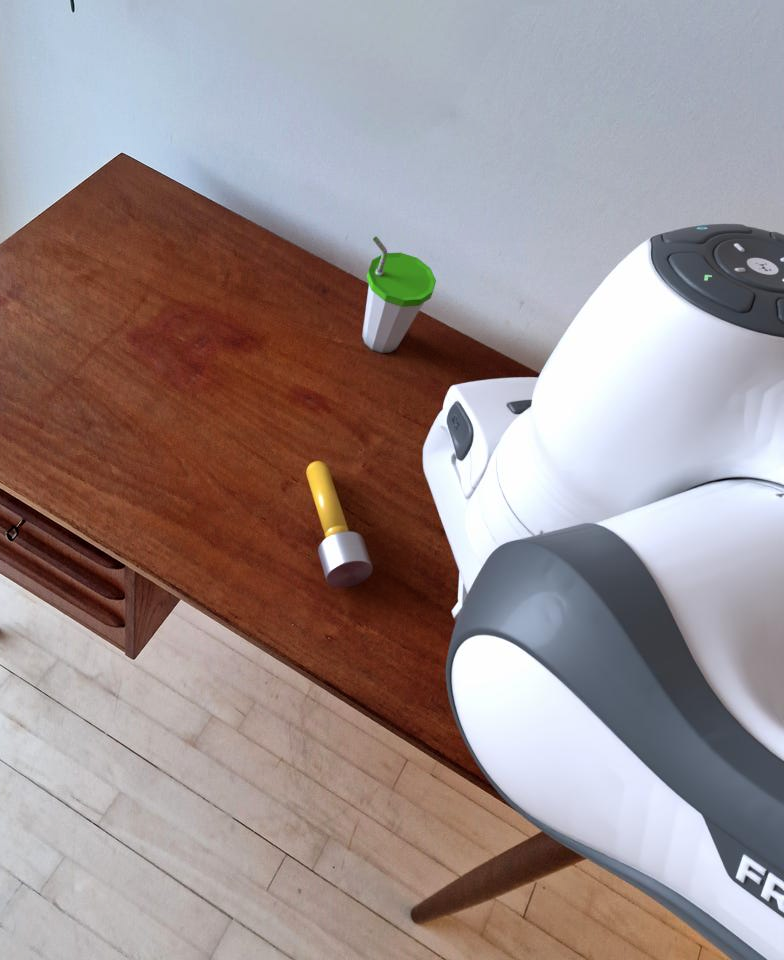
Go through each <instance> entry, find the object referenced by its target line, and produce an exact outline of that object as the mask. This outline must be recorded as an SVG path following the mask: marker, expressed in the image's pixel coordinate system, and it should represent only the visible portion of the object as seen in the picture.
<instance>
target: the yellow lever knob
mask: <svg viewBox="0 0 784 960" xmlns="http://www.w3.org/2000/svg"><path fill="white" fill-rule="evenodd" d="M305 474H306V478H307V481H308V484H309V488H310V491H311V494H312V498H313V501H314V504H315V507H316V511H317V514H318V518H319V520H320V523H321V528H322V530H323V534H324V537H325V538H324V539H323V540H322V541H321V543H320V544H319V546H318V548H317V553H318V556H319V559H320V563H321V567H322V569H323V573H324V577H325V581H326V583H327V584H328V585H329V586H331V587H333V588H340V589H342V588H343V589H344V588H350V587H353V586H357V585H360V584H361V583H363V582H364V581H366V580H367V579H368V578H369V577H370V576H371V575H372V573H373V570H374V569H373V568H374V567H373V564H372V561H371V558H370V555H369V553H368V549H367V547H366V543H365V540H364V537H363V535H361V534H359V533H358V532H356V531H349V528H348V527H349V526H348V525H347V521H346V518H345V515H344V512H343V508H342V506H341V502H340V500H339V497H338V494H337V491H336V490H337V489H336V488H335V485H334V481H333V479H332V475H331V472H330V469H329V466H328V465H327V464H326V463H325V462H323V461H321V460H315V461H312V462H311V463H310V464H309V465H308V466H307V468H306V471H305Z"/></svg>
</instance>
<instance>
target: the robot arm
mask: <svg viewBox="0 0 784 960" xmlns="http://www.w3.org/2000/svg"><path fill="white" fill-rule="evenodd" d="M422 469H423V474H424V476H425V479H426V481H427V483H428V487H429V490H430V493H431V495H432V498H433V501H434V504H435V506H436V509H437V512H438V515H439V518H440V520H441V523H442V527H443V530H444V531H445V535H446V538H447V540H448V543H449V546H450V549H451V551H452V555H453V557H454V560H455V563H456V566H457V568H458V571H459V573H458V587H457V590H458V591H457V603H456V604H455V605H454V607H453V608H452V609H451V614H452V618H453V620H454V628H453V629H452V630H453V631H452V634H451V639H450V643H449V646H448V652H447V657H446V663H445V681H446V683H445V684H446V690H447V696H448V701H449V705H450V708H451V712H452V715H453V718H454V720H455V723H456V726H457V728H458V730H459V734H460V735H461V738H462V739H463V741H464V744H465V746H466V747H467V750H468V751H469V753H470V755H471V756H472V758H473V760H474V762H475V763H476V765H477V766H478V768H479V770H480V771H481V772H482V774H483V775H484V776H485V778H486V779H487V781H488V782H489V783H490V784H491V786H492V787H493V788H494V790H496V791H497V793H498V794H499V795H500V797H502V799H503V800H504V801H505V802H506V803H507V804H508V805H509V806H510V807H511V808H512V809H513V810H515V811H516V812H517V813H518V814H519V815H520V816H521V817H522V818H523V819H525V820H526V821H527V822H529V823H531V824H532V826H534V827H535V828H537V829H538V830H540V831H541V832H542V833H544V834H545V835H547V836H549V837H550V838H551V839H553V840H555V841H556V842H558V843H559V844H561V845H563V846H564V847H565V848H567V849H568V850H571V851H573V853H575V854H578V855H579V856H581V857H582V858H585V859H586V860H588V861H590V862H591V863H593V864H595V865H596V866H598V867H600V868H602V869H603V870H605V871H606V872H608V873H610V874H612V875H614V876H615V877H617V878H619V879H620V880H622V881H624V882H625V883H627V884H629V885H631V886H632V887H633V888H635V889H637V890H639V891H640V892H642V893H643V894H645V895H646V896H648V897H649V898H650V899H652V900H653V901H655V902H656V903H658V904H659V905H661V906H662V907H663V908H664V909H666V910H667V911H669V912H670V913H671V914H673V915H674V916H675V917H677V918H678V919H679V920H681V921H682V922H683V923H684V924H686V925H687V926H688V927H689V928H691V930H694V931H695V932H696V933H697V934H698V935H700V936H701V938H703V939H705V940H706V941H707V942H709V943H710V944H711V945H712V946H714V947H715V948H716V949H717V950H718V951H720V952H721V953H722V954H723V955H725V956H727V958H728V959H730V960H784V234H783V233H780V232H777V231H770V230H765V229H762V228H758V227H753V226H746V225H744V224H741V223H713V224H711V223H709V224H702V225H701V224H700V225H694V226H687V227H683V228H682V227H681V228H677V229H674V230H671V231H667V232H662V233H659V234H657V235H654V236H652V237H650V238H648V239H646V240H645V241H643V242H642V243H641V244H638V246H636V247H635V248H634V249H633V250H632V251H631V252H630V253H628V255H626V256H625V257H624V258H623V259H621V260H620V262H619V263H618V264H617V265H616V266H615V267H614V268H613V270H611V272H610V273H609V274H608V275H607V276H606V277H605V278H604V280H603V281H602V282H601V283H600V285H598V287H597V288H596V289H595V291H594V292H593V293H592V294H591V295H590V297H589V298H588V299H587V301H586V302H585V304H584V305H583V306H582V307H581V309H580V310H579V311H578V313H577V314H576V316H575V317H574V319H573V320H572V322H571V323H570V324H569V326H568V327H567V329H566V331H565V332H564V333H563V335H562V336H561V338H560V340H559V341H558V342H557V345H556V346H555V348H554V349H553V351H552V353H551V354H550V356H549V358H548V359H547V360H546V362H545V364H544V365H543V367H542V369H541V372H540V373H539V375H538V377H537V376H536V377H534V376H531V377H530V376H526V377H525V376H524V377H523V376H522V377H521V376H519V377H500V378H489V379H481V380H474V381H468V382H462V383H457V384H453V385H451V386H450V387H449V389H448V390H447V392H446V394H445V398H444V400H443V404H442V409H441V411H440V412H439V413H438V414H437V416H436V418H435V420H434V421H433V424H432V425H431V427H430V430H429V432H428V434H427V436H426V439H425V441H424V444H423V447H422Z"/></svg>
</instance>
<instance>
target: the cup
mask: <svg viewBox="0 0 784 960" xmlns="http://www.w3.org/2000/svg"><path fill="white" fill-rule="evenodd" d="M372 241H373V242H374V244H376V246H377V247H378V248H379V250H380V251H381V254H380V255H378V256H377V257H375V258H373V259H372V260H371V263H370V265H369V268H368V270H367V273H366V280H367V283H368V289H367V297H366V305H365V312H364V313H365V314H364V320H363V327H362V336H361V337H362V340H363V343H364V345H365V346H367V347H368V349H370V350H371V351H373V352H377V353H380V354H386V353H387V354H389V353H392V352H393V351H395V350H396V349H398V347H399V345H400V344H401V342H402V340H403V339H404V337H405V335H406V333H407V332H408V331H409V329H410V327H411V325H412V324H413V322H414V321H415V319H416V317H417V315H418V313H419V312H420V310H421V309H422V307H423V306H424V303H425V302H427V301H429V300H430V299H431V298H432V296H433V293H434V290H435V286H436V283H437V280H436V277H435V275H434V273H433V270H432V269H431V268H430V267H429V266H428V265H427V264H426V263H424V262H423V261H422V260H421V259H420V258H418V257H416V256H413V255H409V254H407V253H403V252H388V249H387V247H386V246H385V245H384V243H382V241H381V240H380V238H379V237H378V236H374V237H373V238H372Z"/></svg>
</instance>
